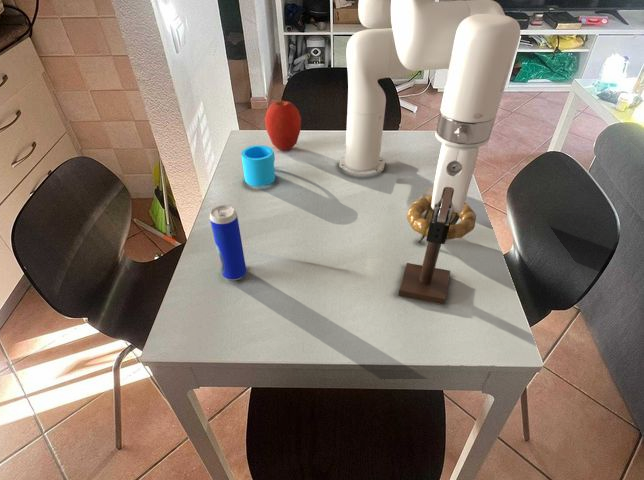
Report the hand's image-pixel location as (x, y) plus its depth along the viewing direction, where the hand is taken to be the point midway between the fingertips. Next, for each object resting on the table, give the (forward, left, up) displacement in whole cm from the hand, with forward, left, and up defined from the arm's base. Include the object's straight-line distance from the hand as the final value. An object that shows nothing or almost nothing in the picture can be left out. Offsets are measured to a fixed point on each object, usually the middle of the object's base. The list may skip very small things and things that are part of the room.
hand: (436, 235), depth 74 cm
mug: (-35, -48, -15) cm, 61 cm away
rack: (-4, 0, -15) cm, 15 cm away
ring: (-5, 0, +1) cm, 5 cm away
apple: (-54, -49, -15) cm, 74 cm away
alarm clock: (-22, -1, -15) cm, 26 cm away
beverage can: (+4, -39, -15) cm, 42 cm away
